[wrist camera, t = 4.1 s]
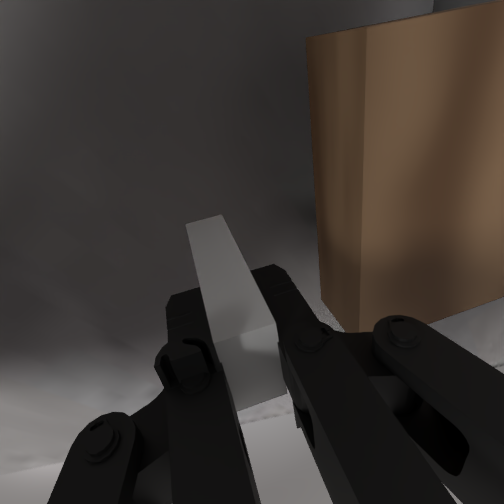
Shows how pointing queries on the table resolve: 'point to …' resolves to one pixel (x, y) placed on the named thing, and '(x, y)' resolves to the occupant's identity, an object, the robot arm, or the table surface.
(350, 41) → the slab
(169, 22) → the table surface
